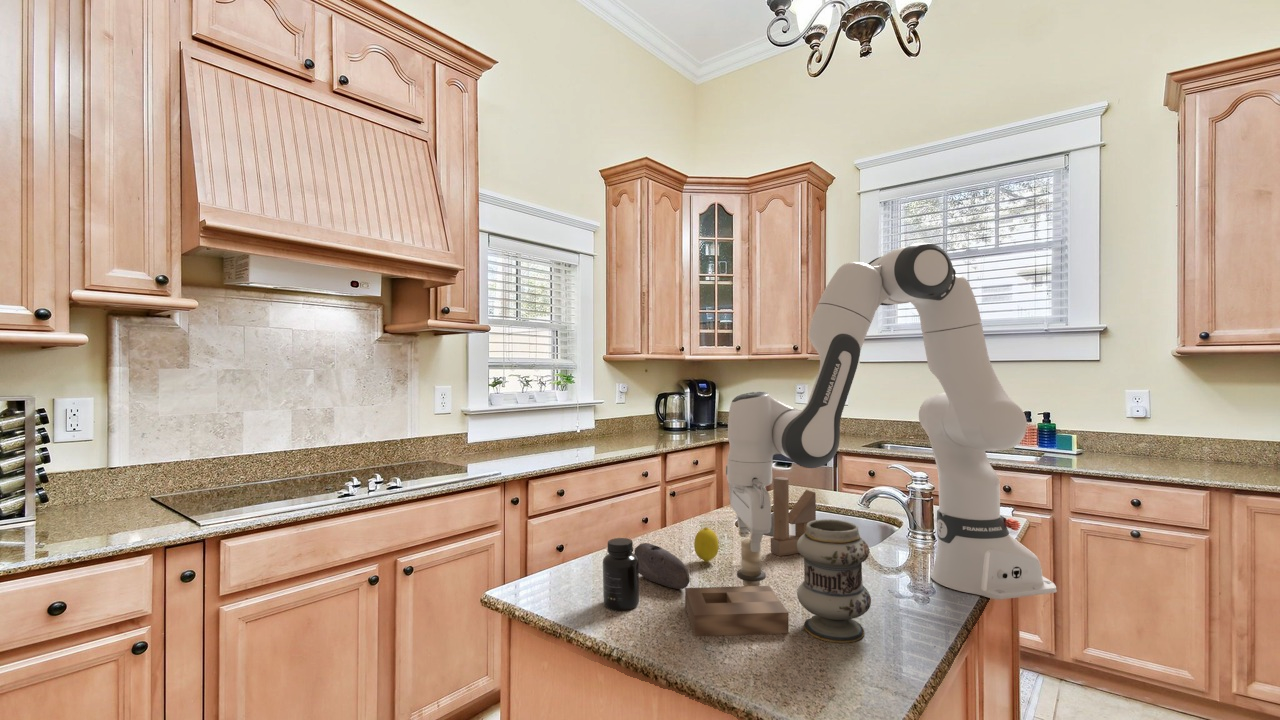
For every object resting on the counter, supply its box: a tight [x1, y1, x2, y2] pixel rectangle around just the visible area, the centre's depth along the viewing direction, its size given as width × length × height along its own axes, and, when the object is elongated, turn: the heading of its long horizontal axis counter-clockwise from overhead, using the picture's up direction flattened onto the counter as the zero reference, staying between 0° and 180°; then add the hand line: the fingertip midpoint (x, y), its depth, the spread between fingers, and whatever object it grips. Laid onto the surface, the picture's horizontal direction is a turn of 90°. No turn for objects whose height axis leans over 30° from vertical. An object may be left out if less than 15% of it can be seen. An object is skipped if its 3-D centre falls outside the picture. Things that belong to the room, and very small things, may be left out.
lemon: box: [693, 527, 720, 563], centre depth 137 cm, size 6×6×8 cm
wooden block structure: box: [770, 476, 817, 557], centre depth 144 cm, size 4×11×18 cm, turn 112°
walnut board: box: [684, 585, 790, 637], centre depth 107 cm, size 16×12×4 cm
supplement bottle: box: [602, 537, 640, 612], centre depth 114 cm, size 7×7×12 cm
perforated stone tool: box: [633, 542, 691, 590], centre depth 124 cm, size 15×5×7 cm, turn 38°
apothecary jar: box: [796, 518, 872, 644], centre depth 102 cm, size 12×12×18 cm
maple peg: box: [736, 538, 767, 586], centre depth 119 cm, size 6×6×10 cm
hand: (748, 543), depth 119 cm, fingers open, 8 cm apart
